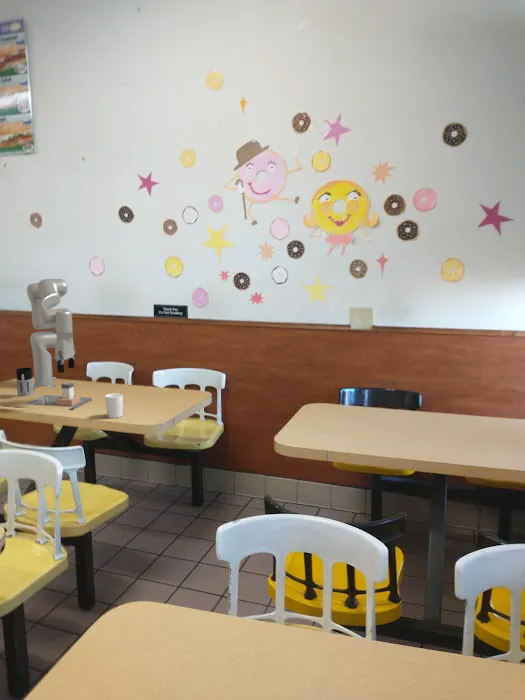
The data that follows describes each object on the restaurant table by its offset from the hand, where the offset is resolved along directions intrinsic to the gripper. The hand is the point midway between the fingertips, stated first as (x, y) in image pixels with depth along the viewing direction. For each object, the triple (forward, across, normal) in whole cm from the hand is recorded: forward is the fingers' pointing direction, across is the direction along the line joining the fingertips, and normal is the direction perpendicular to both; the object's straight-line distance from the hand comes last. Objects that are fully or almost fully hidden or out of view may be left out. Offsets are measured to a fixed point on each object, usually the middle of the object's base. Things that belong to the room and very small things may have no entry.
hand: (66, 370), depth 268 cm
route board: (+18, -2, -6) cm, 20 cm away
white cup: (+18, +12, +30) cm, 37 cm away
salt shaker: (+17, 0, 0) cm, 17 cm away
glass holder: (+19, -9, -30) cm, 36 cm away
